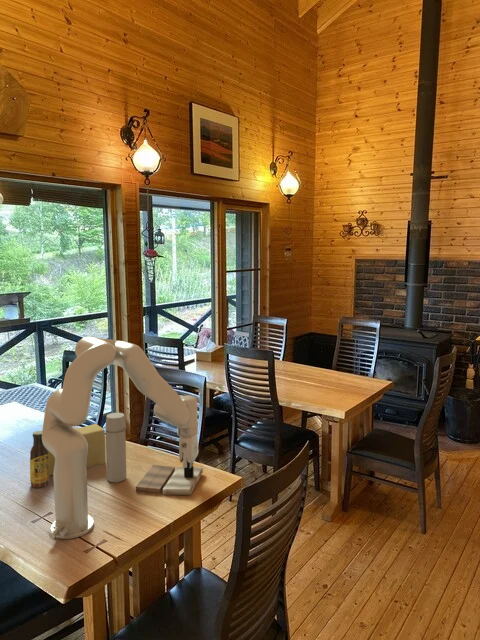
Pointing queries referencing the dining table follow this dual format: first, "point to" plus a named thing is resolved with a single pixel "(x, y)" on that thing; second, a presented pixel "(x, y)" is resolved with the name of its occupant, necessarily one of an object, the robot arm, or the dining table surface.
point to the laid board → (155, 479)
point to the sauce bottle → (38, 462)
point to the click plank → (182, 482)
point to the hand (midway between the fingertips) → (188, 476)
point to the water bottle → (115, 447)
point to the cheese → (95, 447)
